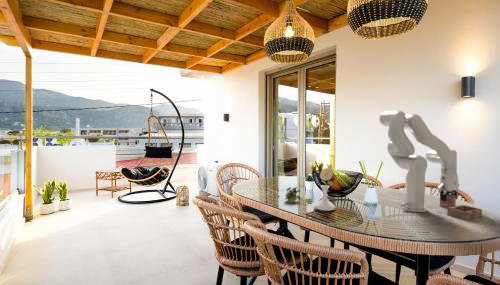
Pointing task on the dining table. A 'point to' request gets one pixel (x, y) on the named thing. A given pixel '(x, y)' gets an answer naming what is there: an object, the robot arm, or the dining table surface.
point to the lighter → (448, 200)
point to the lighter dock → (464, 212)
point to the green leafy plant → (292, 194)
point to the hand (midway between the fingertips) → (448, 199)
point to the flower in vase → (325, 191)
